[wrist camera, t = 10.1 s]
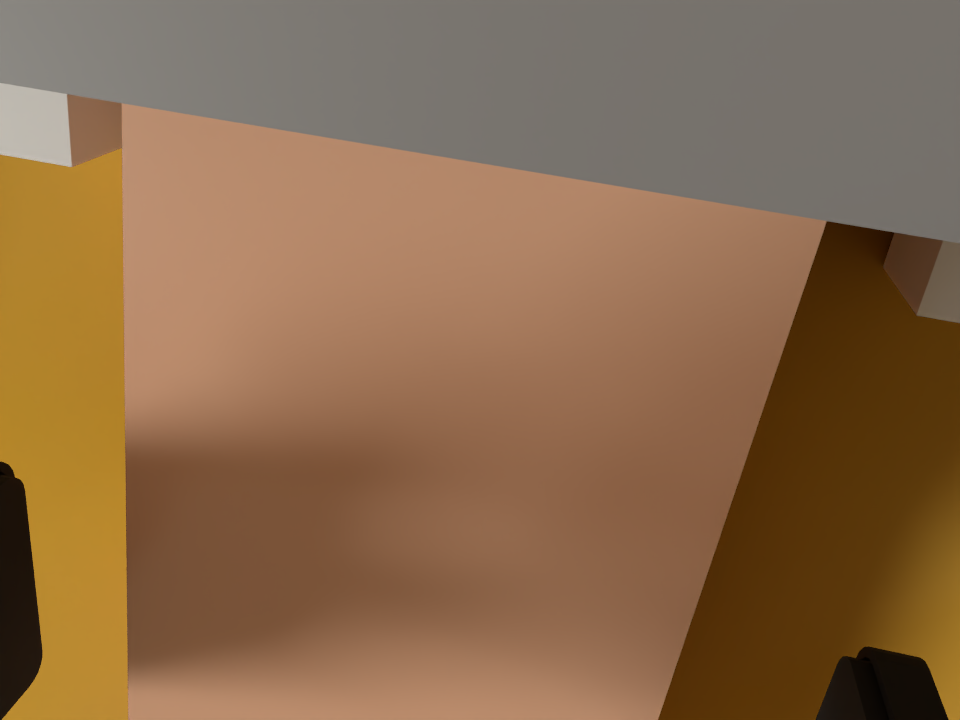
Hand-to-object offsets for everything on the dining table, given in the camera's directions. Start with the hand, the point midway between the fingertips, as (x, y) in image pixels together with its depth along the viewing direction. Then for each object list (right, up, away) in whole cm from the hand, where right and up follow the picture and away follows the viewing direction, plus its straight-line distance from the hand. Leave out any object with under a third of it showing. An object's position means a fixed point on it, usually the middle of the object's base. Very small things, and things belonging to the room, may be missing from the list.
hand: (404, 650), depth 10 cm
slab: (+1, +2, +2) cm, 3 cm away
